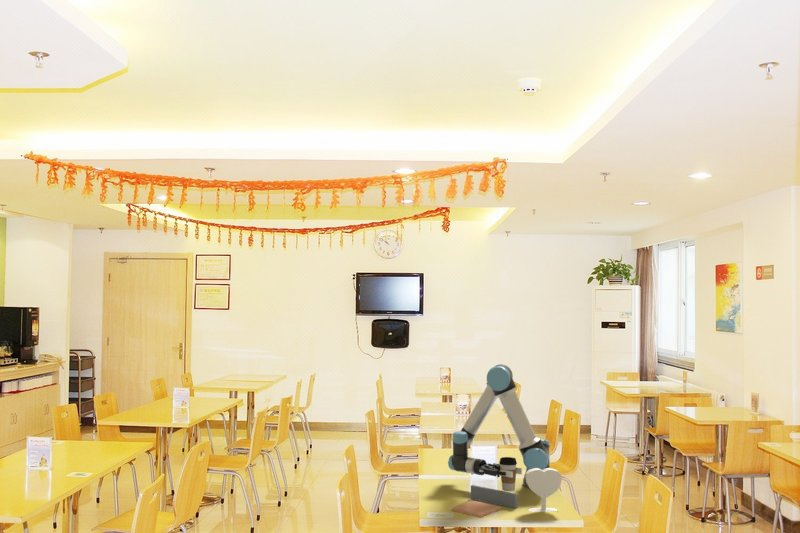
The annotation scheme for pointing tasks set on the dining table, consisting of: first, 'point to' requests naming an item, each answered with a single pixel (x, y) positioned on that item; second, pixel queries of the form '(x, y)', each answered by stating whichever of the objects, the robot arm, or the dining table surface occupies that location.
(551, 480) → the heart sculpture
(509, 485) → the coffee cup
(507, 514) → the dining table surface
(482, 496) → the gray rectangular board
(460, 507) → the terracotta tile
